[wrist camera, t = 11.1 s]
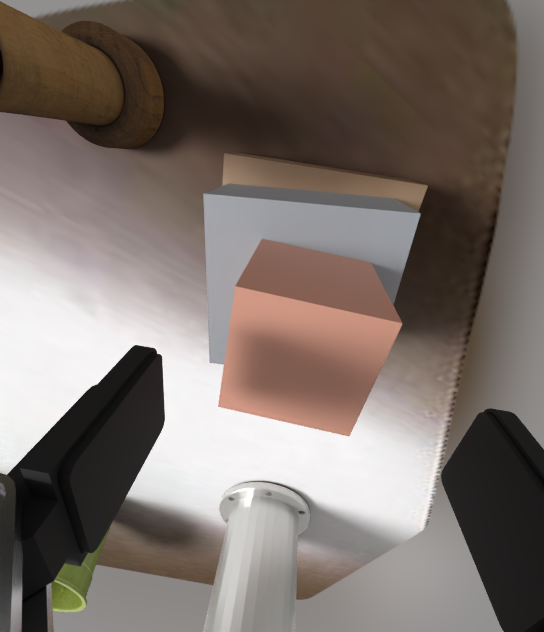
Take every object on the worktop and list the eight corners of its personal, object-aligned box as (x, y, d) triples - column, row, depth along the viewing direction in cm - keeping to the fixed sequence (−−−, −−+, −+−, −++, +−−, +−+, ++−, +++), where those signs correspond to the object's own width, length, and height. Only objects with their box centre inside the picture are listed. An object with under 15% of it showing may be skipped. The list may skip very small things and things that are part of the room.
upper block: (358, 338, 23) (370, 383, 18) (228, 323, 23) (209, 362, 19) (394, 198, 18) (420, 213, 14) (228, 183, 19) (203, 193, 14)
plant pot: (42, 480, 46) (-31, 569, 36) (106, 473, 43) (45, 568, 33) (85, 523, 51) (32, 612, 41) (145, 520, 48) (103, 614, 38)
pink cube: (338, 351, 18) (349, 436, 12) (245, 330, 18) (218, 406, 12) (370, 262, 15) (402, 323, 10) (261, 238, 15) (235, 286, 10)
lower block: (358, 320, 28) (367, 352, 23) (230, 298, 28) (215, 325, 24) (404, 178, 22) (427, 185, 17) (241, 152, 22) (224, 153, 18)
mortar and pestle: (133, 11, 19) (-781, -706, 3) (181, 127, 21) (-170, 64, 6) (52, 60, 20) (-803, -237, 5) (106, 162, 23) (-323, 187, 7)
